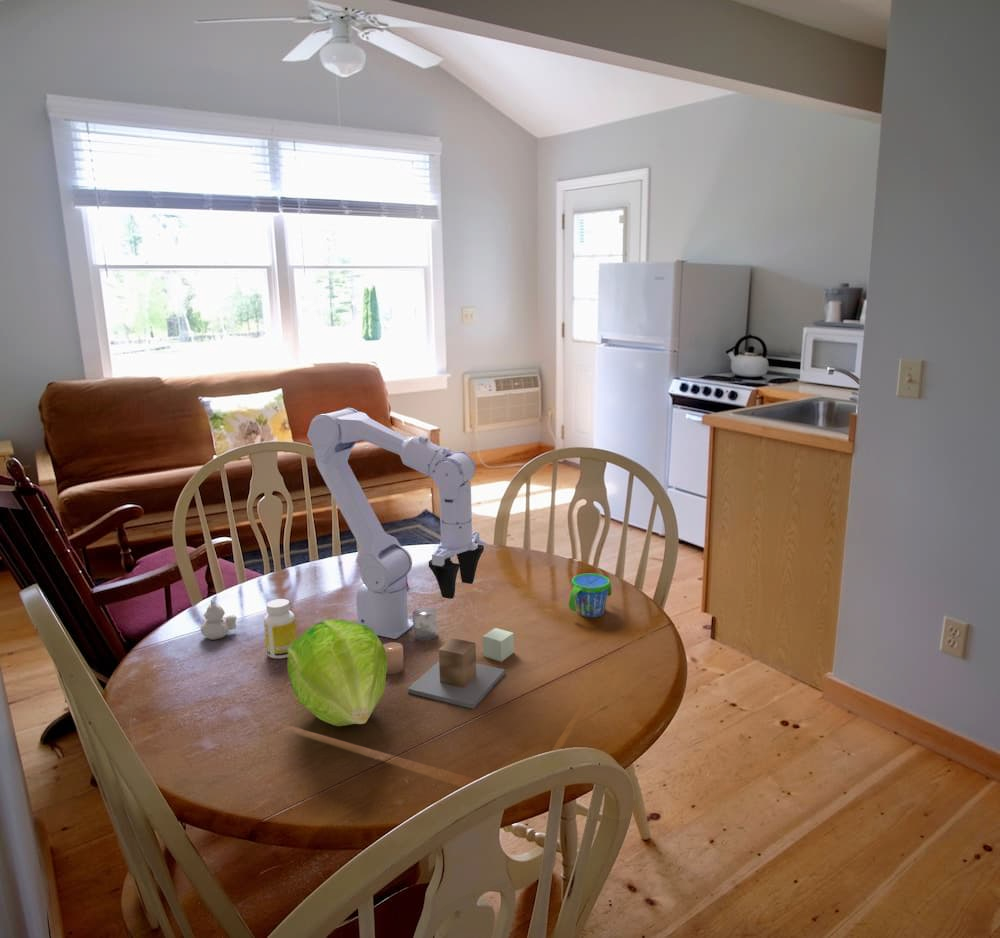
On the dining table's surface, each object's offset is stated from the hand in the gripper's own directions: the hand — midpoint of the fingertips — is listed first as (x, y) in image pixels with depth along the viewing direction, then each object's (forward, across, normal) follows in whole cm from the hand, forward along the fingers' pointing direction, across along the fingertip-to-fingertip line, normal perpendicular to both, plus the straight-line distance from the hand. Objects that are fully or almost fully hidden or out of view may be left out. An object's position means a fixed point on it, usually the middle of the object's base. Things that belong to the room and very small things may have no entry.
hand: (458, 589), depth 133 cm
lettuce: (+11, -32, +3) cm, 33 cm away
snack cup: (+11, +21, -19) cm, 30 cm away
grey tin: (+10, -1, +7) cm, 13 cm away
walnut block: (+10, -14, -7) cm, 18 cm away
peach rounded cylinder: (+10, -14, +6) cm, 18 cm away
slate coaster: (+10, -14, -7) cm, 19 cm away
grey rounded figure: (+11, -17, +44) cm, 48 cm away
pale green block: (+10, -2, -9) cm, 14 cm away
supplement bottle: (+11, -17, +28) cm, 34 cm away
